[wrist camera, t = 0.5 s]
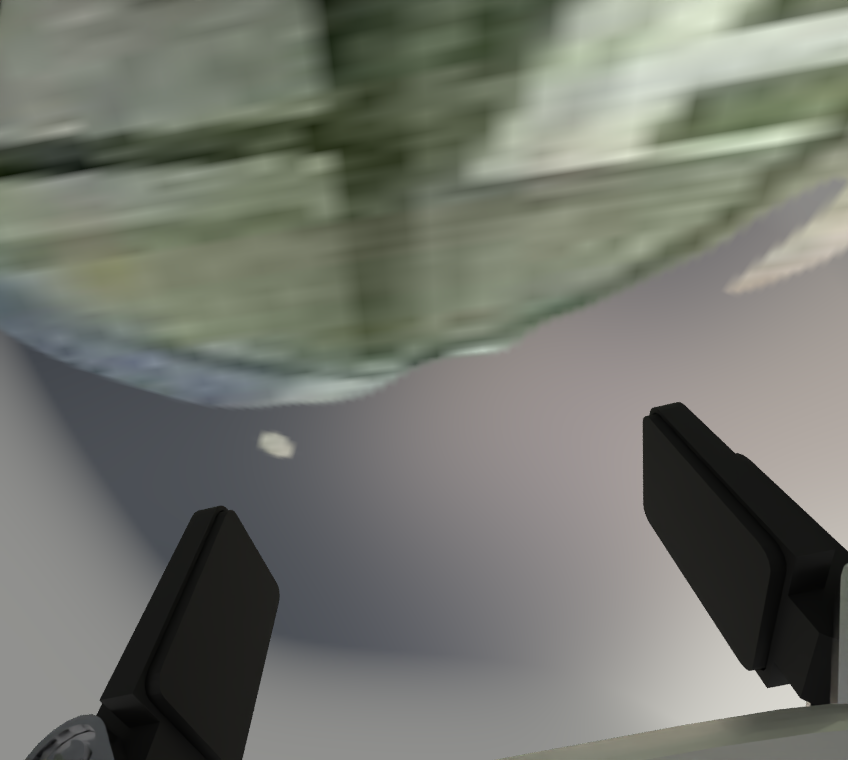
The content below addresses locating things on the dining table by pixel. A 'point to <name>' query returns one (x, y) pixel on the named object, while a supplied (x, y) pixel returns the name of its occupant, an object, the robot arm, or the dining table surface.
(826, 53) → the dining table surface
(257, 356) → the dining table surface
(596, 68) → the dining table surface
